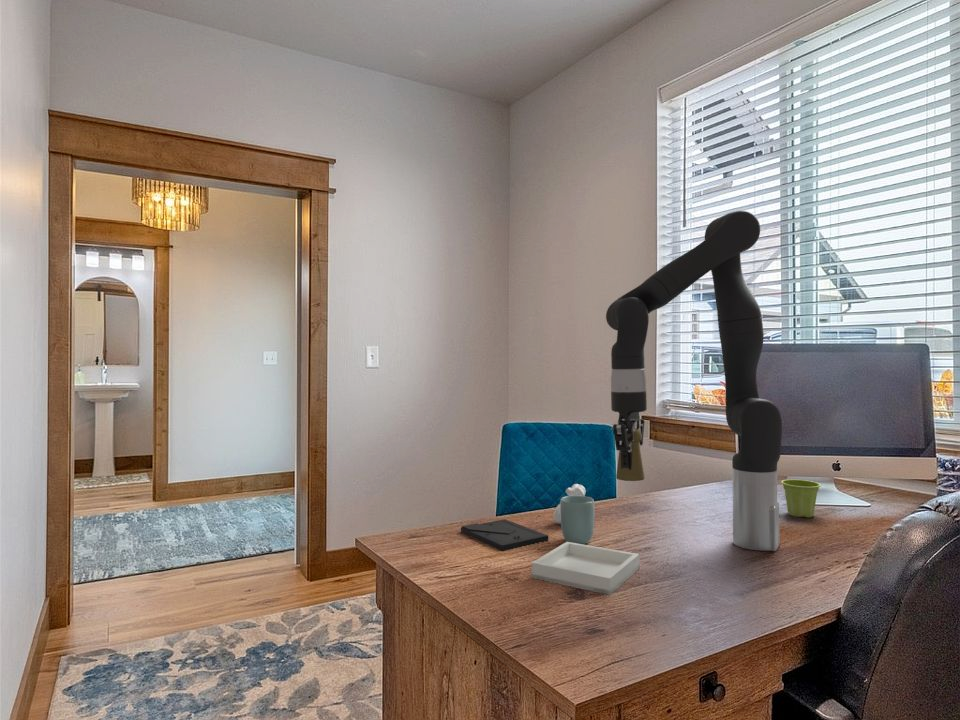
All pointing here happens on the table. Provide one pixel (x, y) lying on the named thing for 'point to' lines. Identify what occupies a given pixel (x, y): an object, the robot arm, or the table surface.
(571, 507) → the cup
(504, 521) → the picture frame
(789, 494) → the plant pot
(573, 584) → the tray
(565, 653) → the table surface
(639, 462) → the olive rounded piece
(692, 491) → the table surface
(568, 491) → the bust
